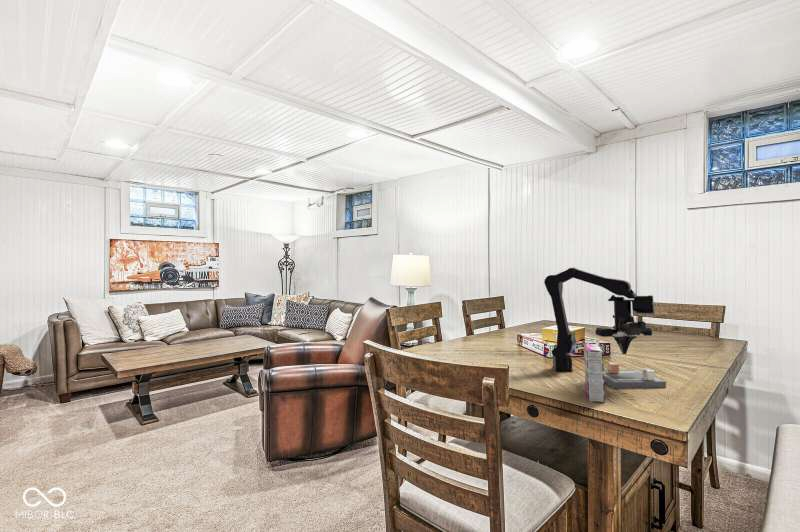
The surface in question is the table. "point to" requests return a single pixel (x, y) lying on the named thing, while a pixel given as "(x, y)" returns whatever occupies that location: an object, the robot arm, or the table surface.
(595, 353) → the candy bar box
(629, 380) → the console
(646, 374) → the fader
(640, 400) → the table surface
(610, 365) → the block
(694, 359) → the table surface
